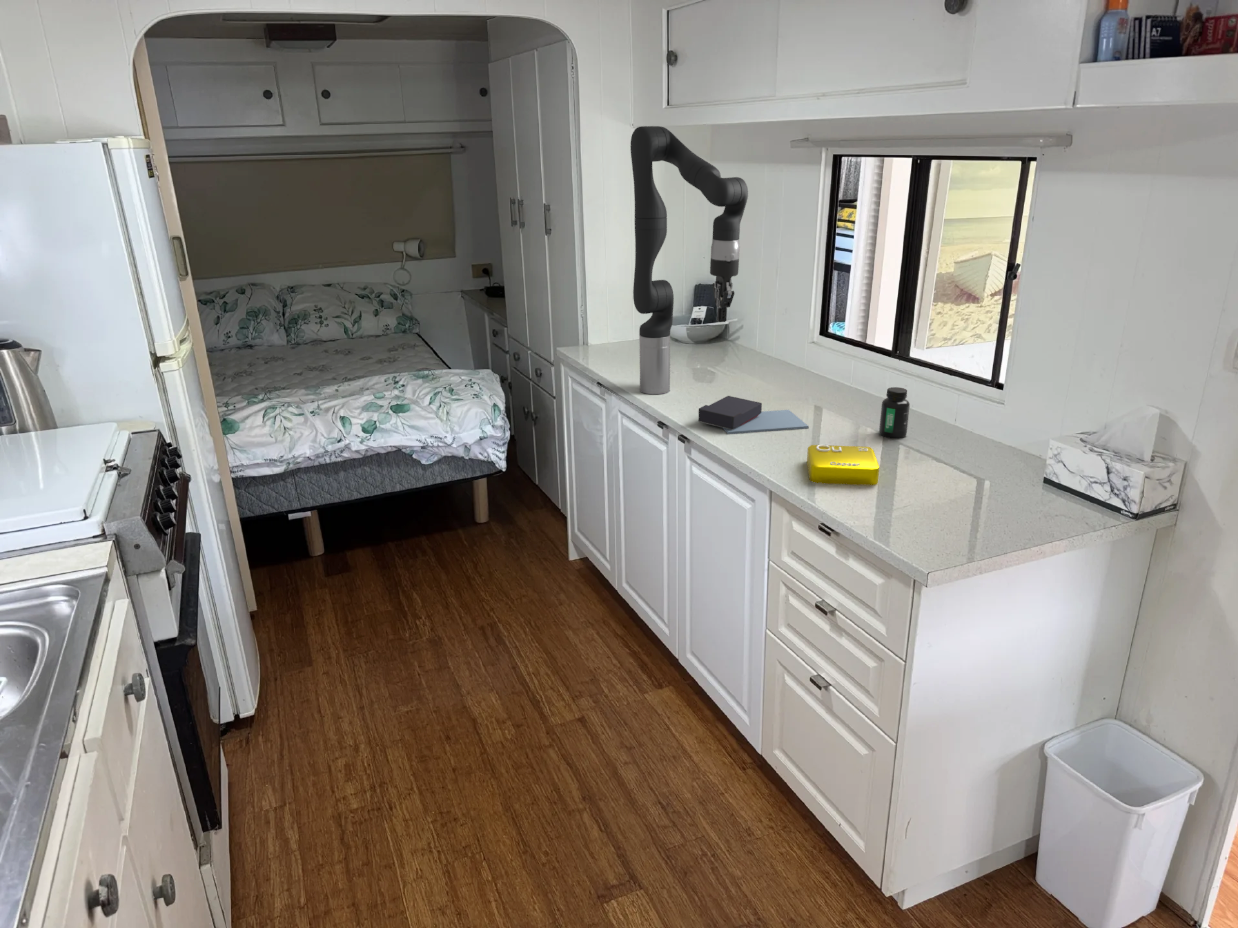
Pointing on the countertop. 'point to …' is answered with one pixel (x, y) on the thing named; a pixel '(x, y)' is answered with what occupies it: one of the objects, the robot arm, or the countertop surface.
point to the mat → (770, 422)
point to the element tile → (842, 465)
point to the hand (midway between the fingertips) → (721, 321)
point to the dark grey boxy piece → (729, 412)
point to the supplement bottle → (894, 414)
